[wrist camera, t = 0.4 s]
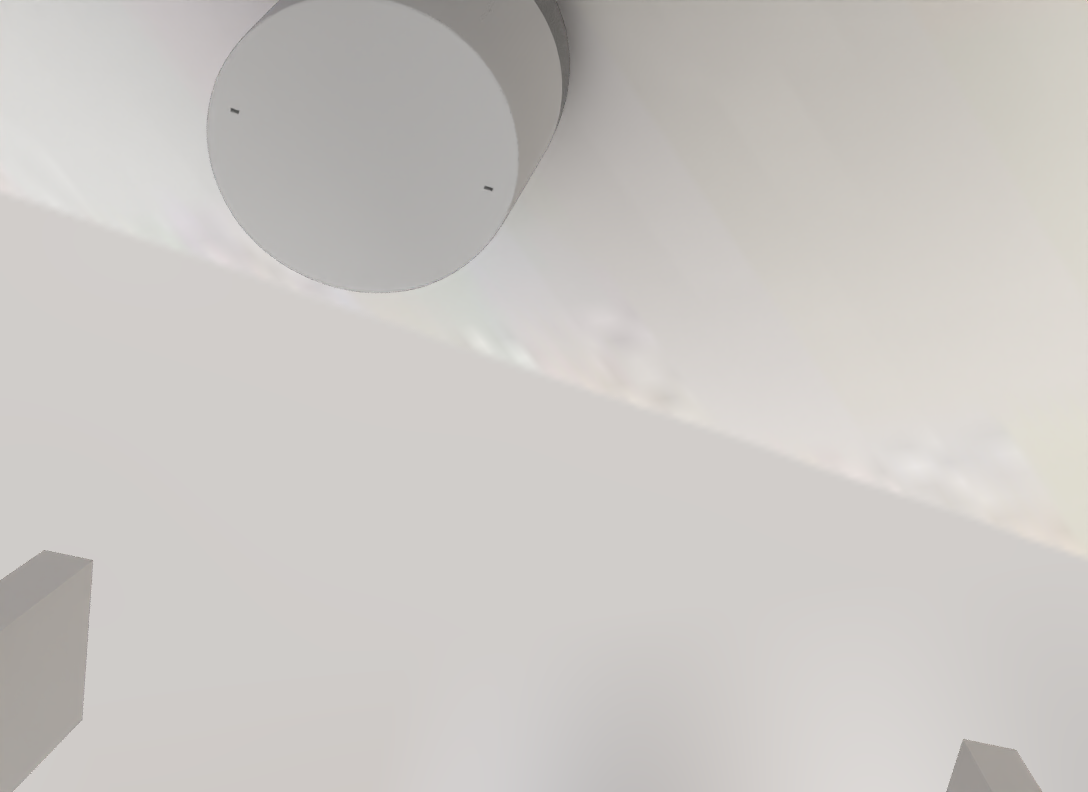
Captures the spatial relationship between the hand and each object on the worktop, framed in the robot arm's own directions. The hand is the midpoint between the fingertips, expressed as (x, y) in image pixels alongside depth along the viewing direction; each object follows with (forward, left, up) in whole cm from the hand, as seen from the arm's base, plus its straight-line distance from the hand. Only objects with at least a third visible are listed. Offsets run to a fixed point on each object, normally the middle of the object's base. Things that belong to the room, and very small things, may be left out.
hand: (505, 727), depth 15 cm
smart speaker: (+1, -7, -29) cm, 29 cm away
